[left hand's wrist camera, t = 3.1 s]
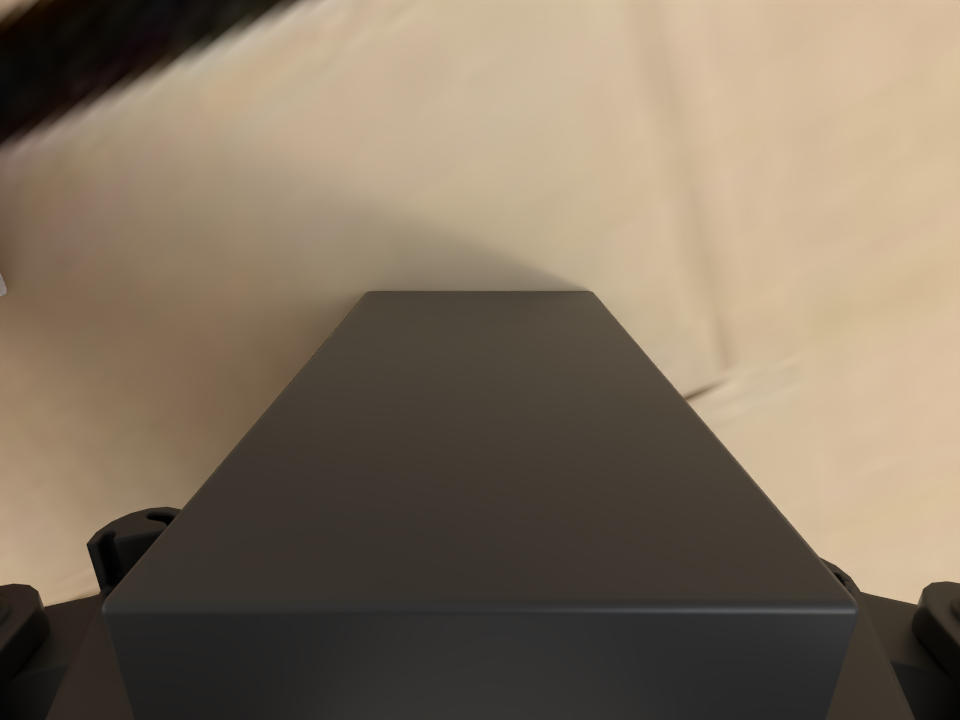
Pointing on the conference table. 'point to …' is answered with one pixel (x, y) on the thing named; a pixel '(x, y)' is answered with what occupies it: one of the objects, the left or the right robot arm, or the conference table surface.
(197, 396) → the conference table surface
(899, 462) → the conference table surface
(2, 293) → the fish
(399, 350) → the box
